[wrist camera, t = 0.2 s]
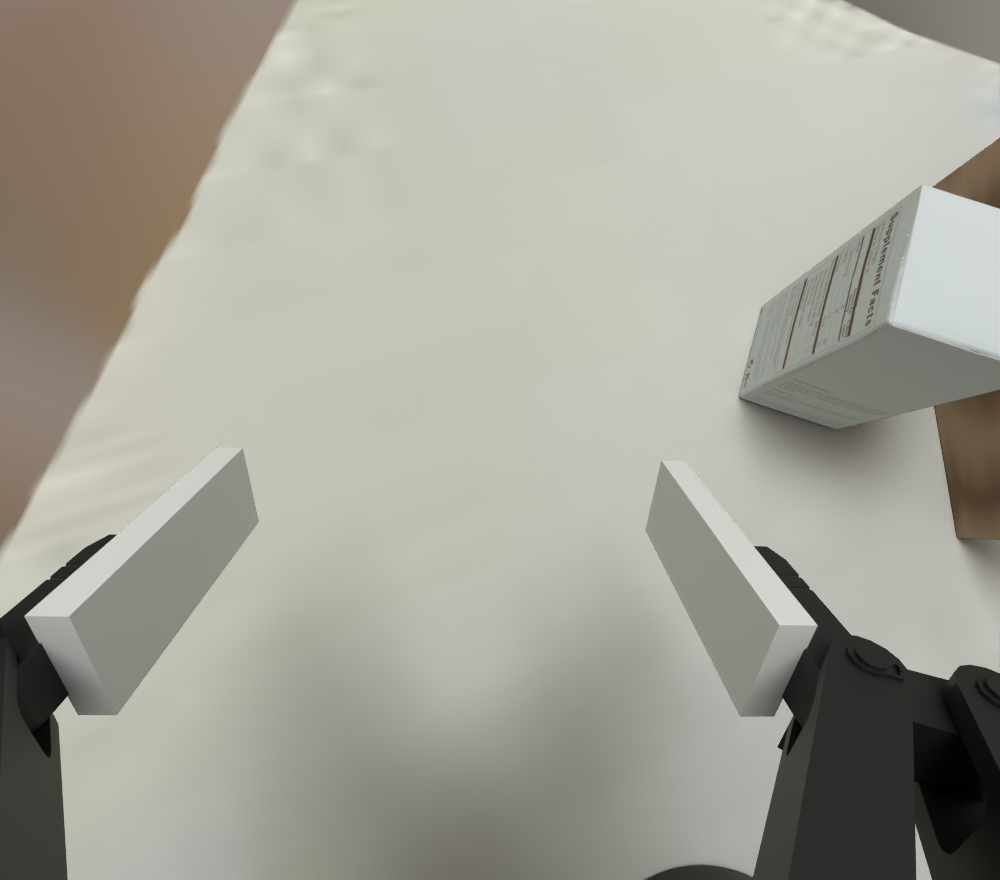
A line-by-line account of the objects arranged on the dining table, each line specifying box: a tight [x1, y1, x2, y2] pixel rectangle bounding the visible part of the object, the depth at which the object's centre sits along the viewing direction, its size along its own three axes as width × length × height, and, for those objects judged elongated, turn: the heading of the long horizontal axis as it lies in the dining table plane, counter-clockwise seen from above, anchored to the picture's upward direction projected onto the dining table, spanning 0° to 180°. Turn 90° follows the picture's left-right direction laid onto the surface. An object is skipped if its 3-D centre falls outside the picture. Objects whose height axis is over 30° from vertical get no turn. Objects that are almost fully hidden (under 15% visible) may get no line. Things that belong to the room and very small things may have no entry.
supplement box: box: [739, 185, 1000, 430], centre depth 26 cm, size 7×7×13 cm
